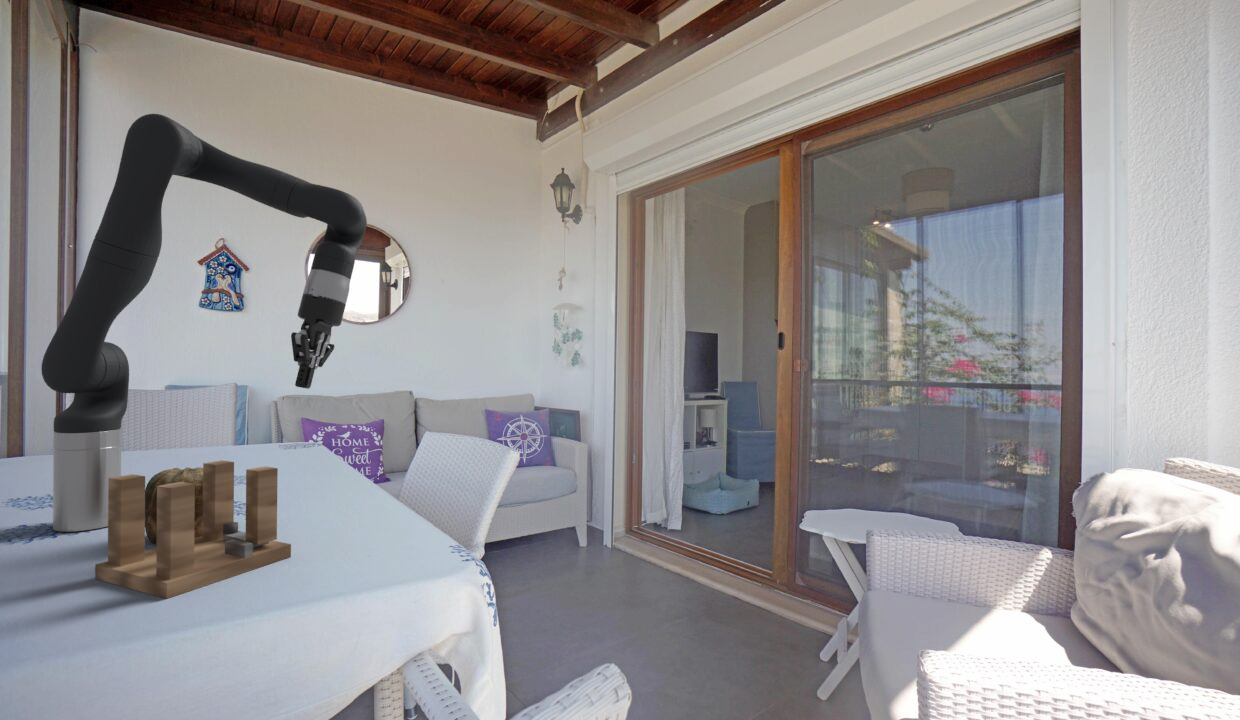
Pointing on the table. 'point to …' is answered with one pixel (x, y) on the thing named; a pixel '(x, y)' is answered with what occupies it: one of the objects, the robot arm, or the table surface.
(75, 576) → the table surface
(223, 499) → the wooden peg stand
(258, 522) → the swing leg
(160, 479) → the shell
